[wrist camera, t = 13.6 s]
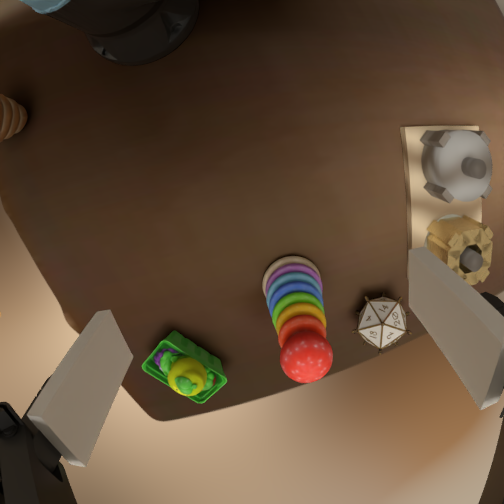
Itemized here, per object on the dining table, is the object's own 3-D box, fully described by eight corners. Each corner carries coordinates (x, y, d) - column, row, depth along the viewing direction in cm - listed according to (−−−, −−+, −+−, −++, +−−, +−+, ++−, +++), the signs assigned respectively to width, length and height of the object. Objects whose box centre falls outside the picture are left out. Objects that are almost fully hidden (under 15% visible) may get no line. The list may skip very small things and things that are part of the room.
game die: (357, 292, 49) (351, 288, 40) (409, 292, 46) (416, 288, 37) (353, 348, 48) (347, 357, 39) (406, 349, 45) (411, 359, 36)
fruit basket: (148, 348, 49) (127, 396, 39) (175, 314, 47) (156, 361, 36) (205, 384, 52) (196, 434, 41) (236, 354, 49) (232, 405, 39)
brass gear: (425, 274, 42) (444, 292, 37) (426, 220, 40) (448, 233, 34) (467, 264, 42) (488, 280, 36) (470, 213, 39) (494, 225, 34)
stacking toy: (253, 265, 44) (252, 351, 26) (309, 245, 43) (344, 321, 25) (273, 312, 46) (282, 408, 29) (326, 294, 45) (361, 383, 28)
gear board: (399, 127, 37) (433, 127, 29) (472, 125, 36) (511, 128, 28) (407, 278, 44) (433, 307, 36) (473, 263, 44) (504, 287, 35)
